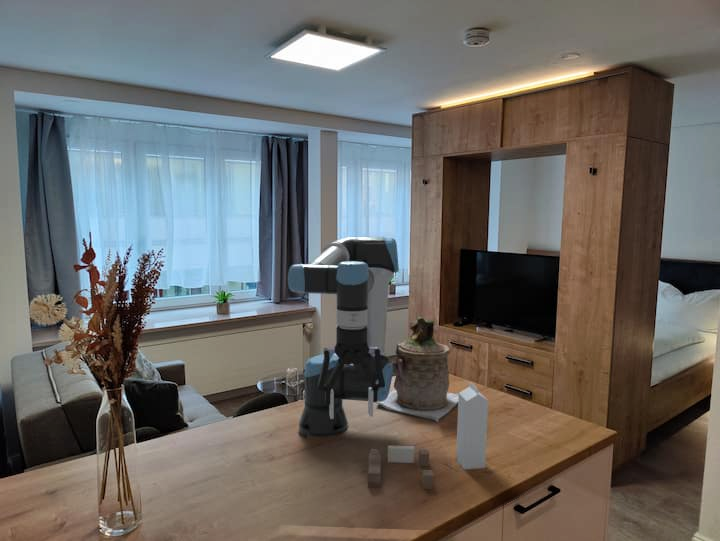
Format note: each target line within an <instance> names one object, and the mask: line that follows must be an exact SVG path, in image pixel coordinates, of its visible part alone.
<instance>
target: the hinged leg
mask: <svg viewBox="0 0 720 541" xmlns="http://www.w3.org/2000/svg"><path fill="white" fill-rule="evenodd" d="M381 465H382V462H381V452H380V449H377V448H372V449H370V450H369V452H368V472H367V473H368V474H367V488H378V489H380V488H381V487H382V486H381V481H382V478H381V477H382V473H381V472H382V467H381Z"/></svg>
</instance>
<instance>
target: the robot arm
mask: <svg viewBox="0 0 720 541" xmlns="http://www.w3.org/2000/svg"><path fill="white" fill-rule="evenodd" d="M397 245H398V244H397V241H396V239H395V238H393V237H386V236H381V237H380V236H378V237H377V236H373V237H372V236H346V237H342V238H339V239H336V240H334V241H331V242H330V243H328V244H327V245H325V246H324V247H323V249H322V250H321V253H320V254H318V255H317V256H316V257H314V258H313V259H311V261H310V262H308V263H307V264H303V263H299V264H292V265H291V266H290V267H289V269H288V273H287V285H288V289H289V290H290V292H292V293H298V294H299V293H301V294H302V295H303V294H322V295H323V294H327V295H336V319H335V320H336V323H335V324H336V325H337V327H336V329H335V331H336V336H335V337H336V338H335V339H336V340H335V341H336V342H335V346H334V347H333V348H332V347H331V348H327V347H324V348H323V354H319V355H315V356H312V357H310V358H309V359H307V360H306V362H305V363H304V364H305V365H304V374H303V376H304V407H303V409H302V410H303V411H302V414H301V416H300V419H299V424H298V432H299V434H300V435H301V436H303V437H305V438H307V437H308V435H309V436H313V437H332V436H337V435H339V434H342V433H343V432H345V431H346V430H347V429H348V427H349V423H348V422H349V421H348V418H347V415H346V412H345V409H344V405H343V400H346V401H359V402H360V401H361V402H367V403H368V404H367V413H368V415H369V417H370V418H371V417H372V418H373V417H374V403H376V402H382V401H385V400H386V399H387V397H388V394H389V393H390V390H391V384H392V380H393V373H394V371H393V364H392V363H391V362H389V361H390V360H389V358H390V357H389V356H388V355H387V353H386V352H385V348H386V347H385V346H386V345H385V344H386V333H387V332H386V331H387V330H386V329H387V316H388V301H389V300H388V299H389V284H390V281H392V280H393V279H394V277H395V274H396V273H398V272H399V271H400V270H399V268H400V266H399V265H400V264H399V257H398V255H399V254H398V246H397Z"/></svg>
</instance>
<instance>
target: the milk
mask: <svg viewBox="0 0 720 541" xmlns="http://www.w3.org/2000/svg"><path fill="white" fill-rule="evenodd" d="M458 394H459V398H458V404H457V405H458V406H457V425H456V426H457V428H456V429H457V430H456V433H457V434H456V451H455V452H456V454H455V456H456V457H455V458H456V461H458V463H459V464H460V466H461V467H462V469H463V470H474V469H475V470H477V469H485V468H486V458H487V457H486V455H487V434H488V416H489V414H488V413H489V411H488V410H489V399H487V397H485V396H484V394H482V393H481V392H480V391H479V388H478V386H477V387H476V386H475V384H473V383H472V382H471V381H469V383H468V387H466V388H464V389H463V390H461V391H459V392H458Z"/></svg>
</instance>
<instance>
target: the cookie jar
mask: <svg viewBox="0 0 720 541" xmlns="http://www.w3.org/2000/svg"><path fill="white" fill-rule="evenodd" d="M434 324H435V322H434V321H433V320H431V319H427V318H426V317H422V316H418V317H417V318H416V320H411V321H410V324H409V329H410V330H411V331H413V333H412V334H411V335H410V337H409V338H407V339H405V340H404V341H403V342H400V343H398V344H397V345H396V349H395V355H396V356H397V357H396V361H391V362H390V363H392V364H393V373H394V375H395V379H394V383H393V388H394V389H393V390H391V391H389V394H388V397H387V399H386V400H385V401H382V402H375V403H376V404H377V405H380V406H381V407H383V408H385V409H386V410H389V411H394V412H399V413H402V414H403V413H404V414H407V415H412V416H416V417H420V418H424V419H427V420H428V419H429V420H432V421H435V422H437V423H439V422H438V421H440V419H441V418H443V417H444V416H445V415H447V414H448V413H449V412H451V410H452V409H454V407H455V406H457V405H458V398H459V393H453V392H448V391H449V388H450V378H449V377H450V372H449V365H448V364H449V362H448V356H449V355H450V354H451V353H450V352H451V350H450V348H449V346H448V345H445V344H442V343H439V342H437V341H435V338H433V337H434V331H435V330H434V329H435V328H434V326H435V325H434Z"/></svg>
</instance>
